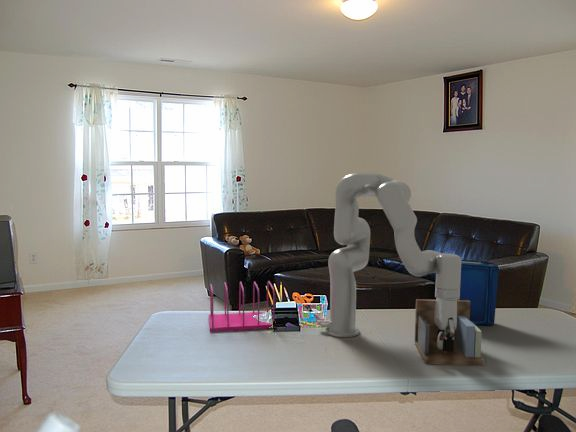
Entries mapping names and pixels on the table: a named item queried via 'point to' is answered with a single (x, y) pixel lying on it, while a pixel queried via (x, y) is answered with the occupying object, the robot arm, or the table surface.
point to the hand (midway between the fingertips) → (445, 346)
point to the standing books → (468, 337)
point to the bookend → (423, 335)
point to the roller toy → (440, 340)
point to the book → (479, 290)
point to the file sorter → (238, 314)
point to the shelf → (428, 312)
